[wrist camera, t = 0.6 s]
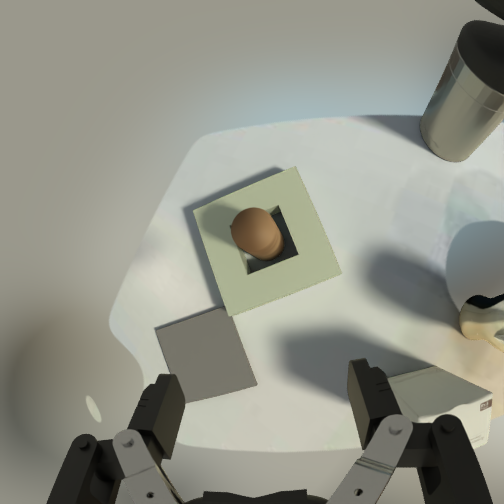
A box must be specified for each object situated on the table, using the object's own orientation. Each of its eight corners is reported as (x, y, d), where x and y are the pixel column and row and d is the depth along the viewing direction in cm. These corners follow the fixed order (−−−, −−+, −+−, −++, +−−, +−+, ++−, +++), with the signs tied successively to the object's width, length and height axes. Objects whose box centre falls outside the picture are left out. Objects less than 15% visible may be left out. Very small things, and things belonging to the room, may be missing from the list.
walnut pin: (277, 221, 39) (265, 200, 30) (289, 253, 38) (281, 240, 29) (245, 234, 39) (225, 217, 31) (257, 266, 39) (239, 258, 30)
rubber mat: (227, 305, 39) (226, 305, 38) (257, 384, 36) (256, 385, 36) (157, 330, 40) (155, 330, 40) (184, 402, 38) (182, 403, 37)
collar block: (297, 175, 39) (295, 166, 36) (339, 274, 36) (341, 272, 33) (201, 216, 41) (192, 210, 38) (235, 315, 38) (228, 316, 35)
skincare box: (382, 416, 32) (410, 474, 18) (381, 375, 33) (414, 419, 19) (439, 402, 31) (488, 447, 16) (439, 361, 32) (496, 392, 17)
